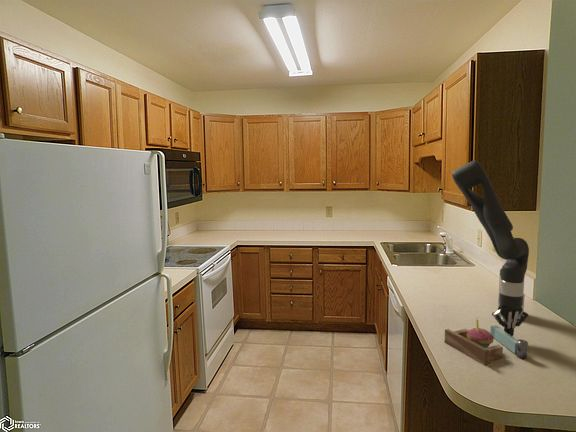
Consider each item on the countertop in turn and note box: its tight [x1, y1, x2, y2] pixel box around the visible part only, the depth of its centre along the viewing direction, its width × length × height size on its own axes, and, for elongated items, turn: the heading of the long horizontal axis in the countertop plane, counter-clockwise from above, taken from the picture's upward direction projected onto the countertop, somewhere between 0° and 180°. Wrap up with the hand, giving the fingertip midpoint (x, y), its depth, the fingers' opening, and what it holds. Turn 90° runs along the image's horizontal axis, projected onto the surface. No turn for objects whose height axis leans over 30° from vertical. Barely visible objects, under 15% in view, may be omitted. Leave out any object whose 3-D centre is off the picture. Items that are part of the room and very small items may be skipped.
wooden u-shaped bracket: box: [444, 328, 504, 366], centre depth 132 cm, size 9×17×5 cm, turn 22°
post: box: [516, 339, 529, 360], centre depth 127 cm, size 3×3×6 cm
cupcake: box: [467, 318, 494, 348], centre depth 133 cm, size 9×8×12 cm
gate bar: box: [490, 325, 519, 354], centre depth 136 cm, size 14×2×4 cm, turn 3°
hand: (508, 336), depth 139 cm, fingers closed
